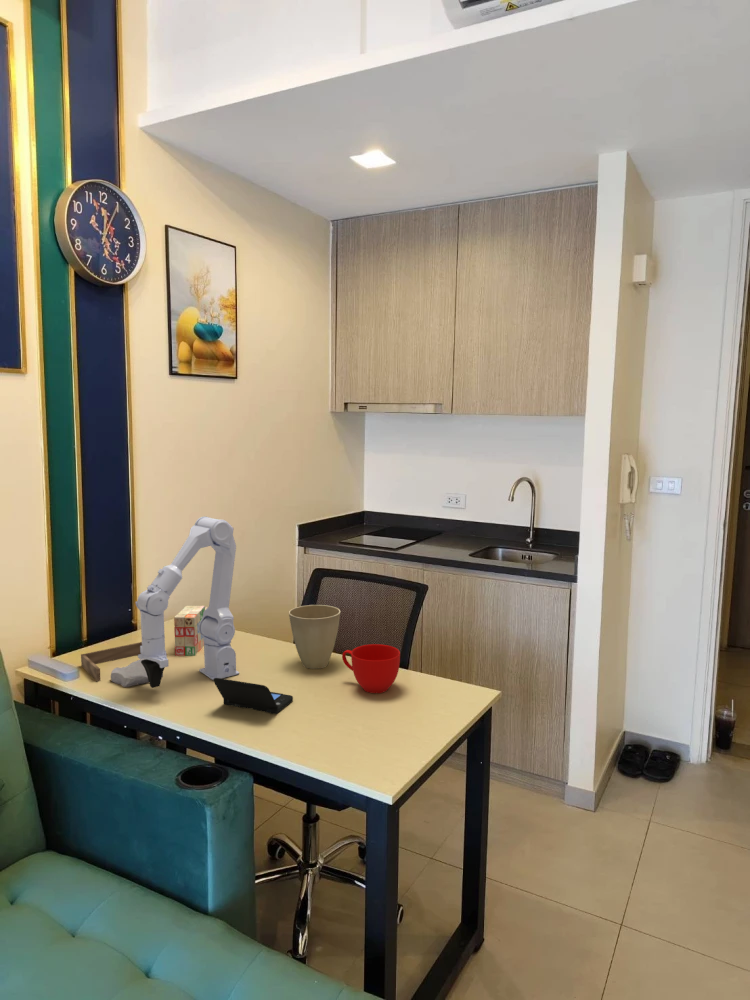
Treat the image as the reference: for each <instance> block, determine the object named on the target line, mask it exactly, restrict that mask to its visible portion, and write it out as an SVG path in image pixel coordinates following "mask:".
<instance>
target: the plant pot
mask: <svg viewBox="0 0 750 1000" xmlns="http://www.w3.org/2000/svg"><path fill="white" fill-rule="evenodd" d="M288 617H289V622H290V628H291V632H292V638H293V641H294V645H295V649H296V651H297V653H298V654H297V655H298V657H299V659H300V662H301V664H302V666H303V667H304V668H306V669H310V670H311V669H312V670H314V669H315V670H317V669H323V668H325V667H327V666H328V664H329V662H330V659H331V656H332V653H333V651H334V648H335V643H336V639H337V635H338V631H339V626H340V617H341V610H340V608H339V607H336V606H332V605H324V604H309V605H301V606H298V607H297V606H296V607H294V608H291V609H290V610H289V611H288Z"/></svg>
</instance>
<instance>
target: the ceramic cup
mask: <svg viewBox="0 0 750 1000" xmlns="http://www.w3.org/2000/svg"><path fill="white" fill-rule="evenodd" d="M347 654H349V655H351V659H350V660H351V664H350V663H349V661H348V659H347V656H346V655H347ZM341 658H342V662H343V664H344V665H345V666H346V667H347V668H348V669H349V670H351V671H352V672H353V675H354V678H355V680H356V682H357V683H358V684H359V686H360V687H361V688H362V689H363V690H364V691H365V692H367V693H370V694H381V693H385V692H387V691H388V690H389V688H390V687H391V686H392V685H393V684H394V682H395V681H396V679H397V677H398V674H399V670H400V663H401V652H400V650H399V649H398V648H396V647H394V646H392V645H387V644H379V643H378V644H377V643H376V644H375V643H372V644H371V643H370V644H364V645H360V646H357V647H355V648H353V649H352V650H350V649H347V650H345V651H343V652H342V655H341Z"/></svg>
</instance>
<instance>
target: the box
mask: <svg viewBox="0 0 750 1000" xmlns="http://www.w3.org/2000/svg"><path fill="white" fill-rule="evenodd" d="M140 646H142V641H140V642H136V643H131V644H127V645H121V646H116V647H110V648H106V649H101V650H96V651H91V652H87V653H86V652H85V653H81V654H80V659H81V662H80V663H81V667H82V669H84V670H85V671H86V672H87V673H88V674H89V675H90V676H91V677H92V678H94V680H95V681H96V682H101V668H100V666H98V664H103V663H106V662H107V663H108V662H111V661H117V660H121V659H124V658H126V659H127V658H129V657H134V656H135V657H136V656H138V655H139V654H141V653H140ZM166 656H168V655H167V653H166Z"/></svg>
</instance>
